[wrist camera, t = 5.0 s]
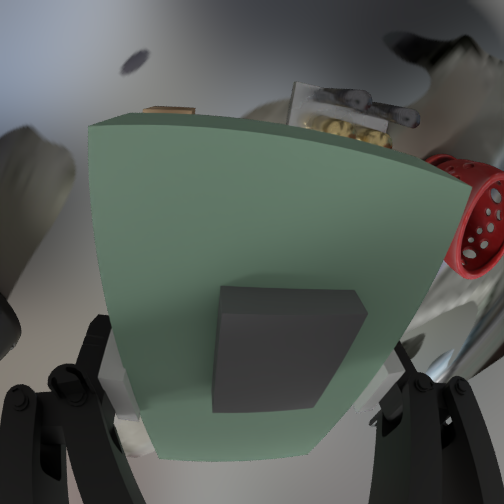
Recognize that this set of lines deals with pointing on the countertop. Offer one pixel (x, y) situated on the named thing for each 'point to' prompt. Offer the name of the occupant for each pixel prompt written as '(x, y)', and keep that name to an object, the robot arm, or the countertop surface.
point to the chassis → (346, 113)
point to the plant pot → (475, 216)
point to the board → (258, 273)
